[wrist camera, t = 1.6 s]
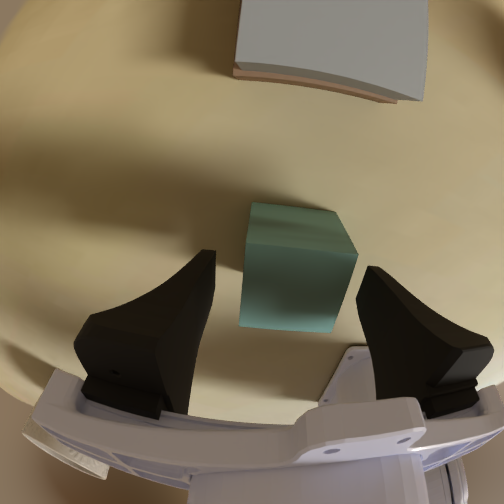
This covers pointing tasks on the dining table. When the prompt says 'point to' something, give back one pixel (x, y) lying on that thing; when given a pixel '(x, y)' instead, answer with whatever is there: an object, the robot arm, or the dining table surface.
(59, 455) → the planter
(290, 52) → the tower top
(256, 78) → the tower base
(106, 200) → the dining table surface
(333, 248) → the teal block
